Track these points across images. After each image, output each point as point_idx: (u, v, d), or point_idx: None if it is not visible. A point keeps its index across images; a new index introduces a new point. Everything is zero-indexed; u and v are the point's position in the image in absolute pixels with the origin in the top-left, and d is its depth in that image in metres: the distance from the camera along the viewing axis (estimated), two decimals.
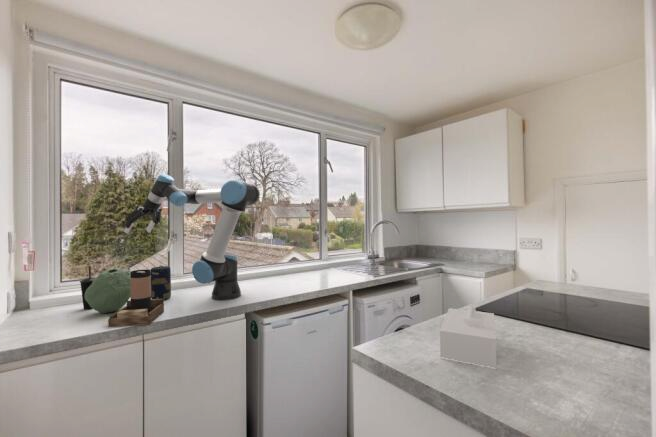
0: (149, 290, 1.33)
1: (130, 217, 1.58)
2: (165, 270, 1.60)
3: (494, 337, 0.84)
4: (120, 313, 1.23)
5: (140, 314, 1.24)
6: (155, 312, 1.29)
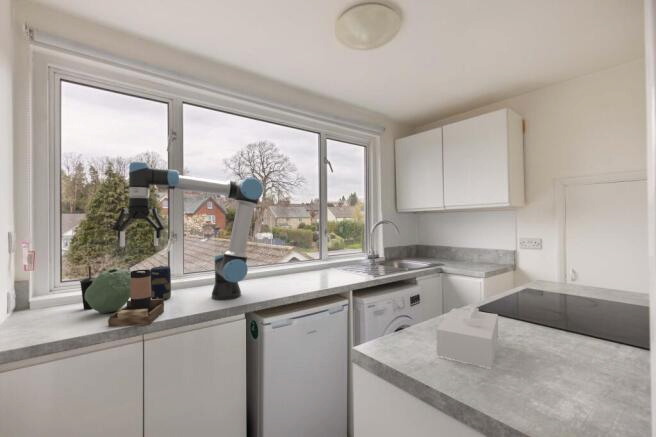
0: (149, 290, 1.33)
1: (162, 223, 1.35)
2: (165, 270, 1.60)
3: (490, 337, 0.84)
4: (120, 313, 1.23)
5: (140, 314, 1.24)
6: (155, 312, 1.29)
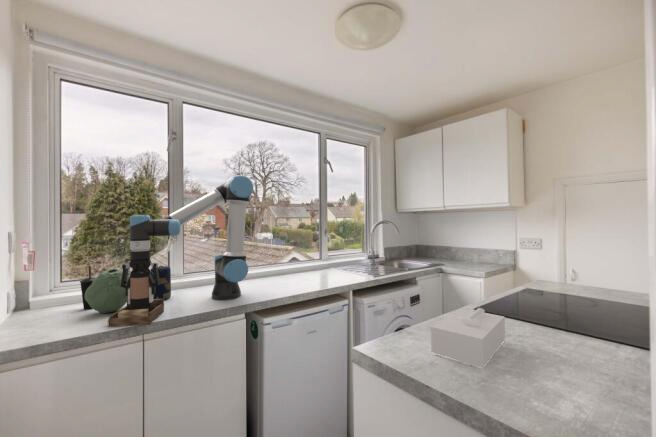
0: None
1: (158, 278, 1.34)
2: (165, 270, 1.60)
3: (482, 337, 0.84)
4: (121, 313, 1.23)
5: (141, 313, 1.24)
6: (155, 312, 1.29)
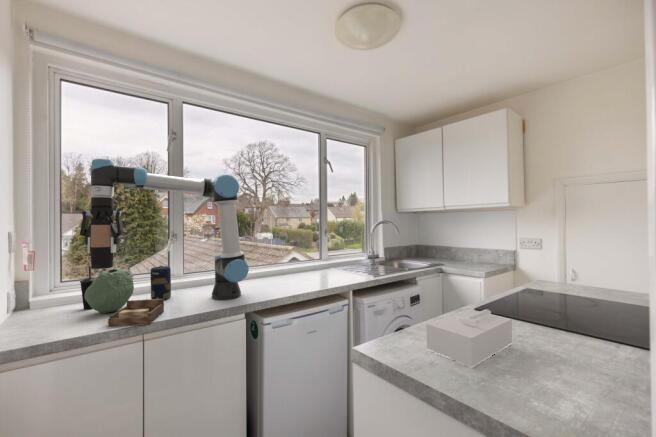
0: None
1: (122, 228, 1.26)
2: (165, 270, 1.60)
3: (472, 336, 0.84)
4: (121, 313, 1.23)
5: (141, 313, 1.24)
6: (155, 312, 1.29)
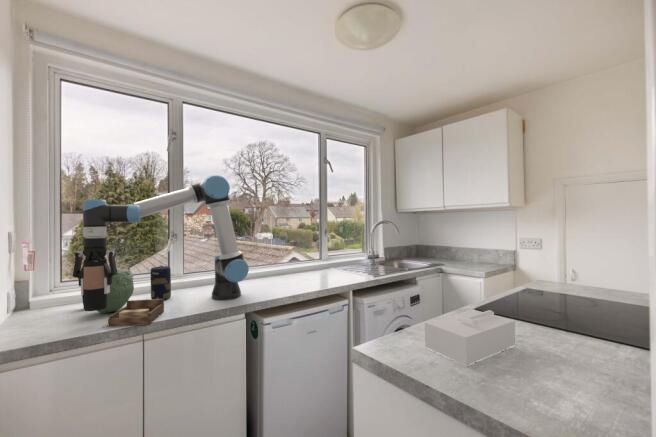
0: None
1: (115, 268, 1.25)
2: (165, 270, 1.60)
3: (467, 336, 0.85)
4: (122, 313, 1.23)
5: (142, 313, 1.24)
6: (155, 312, 1.29)
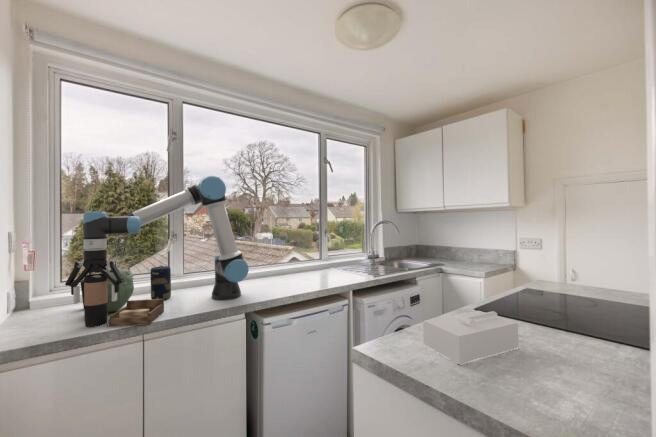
0: (105, 296, 1.23)
1: (121, 275, 1.25)
2: (165, 270, 1.60)
3: (460, 335, 0.86)
4: (122, 313, 1.23)
5: (142, 313, 1.24)
6: (155, 312, 1.29)
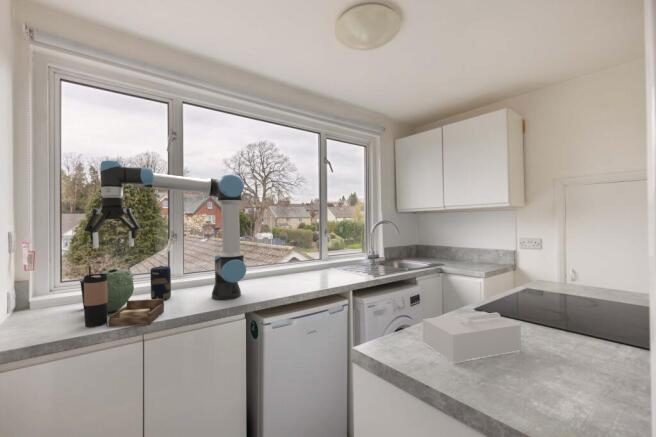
0: (105, 296, 1.23)
1: (137, 222, 1.32)
2: (165, 270, 1.60)
3: (455, 334, 0.87)
4: (123, 313, 1.23)
5: (142, 313, 1.24)
6: (155, 312, 1.29)
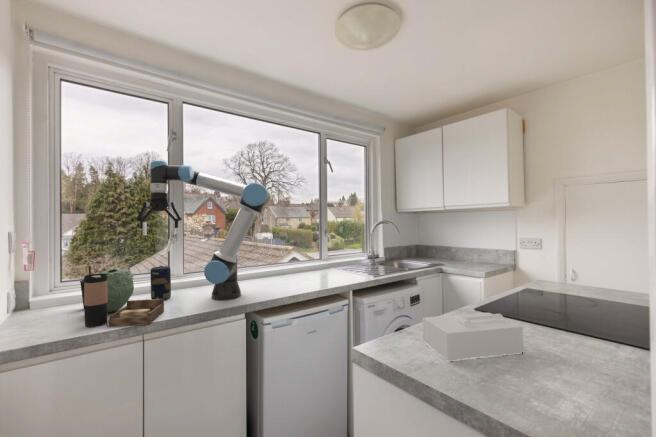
0: (105, 296, 1.23)
1: (179, 214, 1.53)
2: (165, 270, 1.60)
3: (449, 332, 0.88)
4: (123, 313, 1.23)
5: (143, 313, 1.24)
6: (155, 312, 1.29)
